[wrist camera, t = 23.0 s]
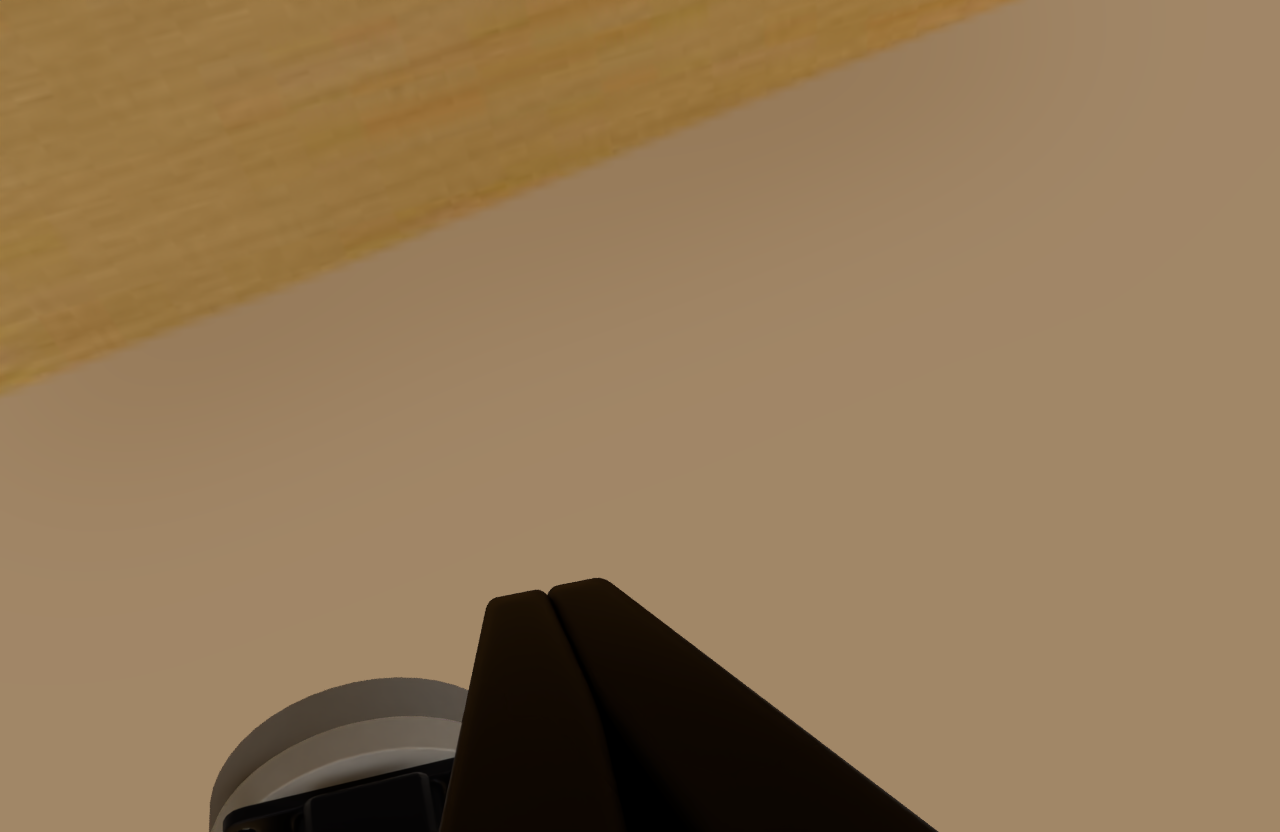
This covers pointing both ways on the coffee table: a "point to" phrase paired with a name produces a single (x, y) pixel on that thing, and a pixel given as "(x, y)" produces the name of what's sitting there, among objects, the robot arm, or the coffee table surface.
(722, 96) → the coffee table surface
